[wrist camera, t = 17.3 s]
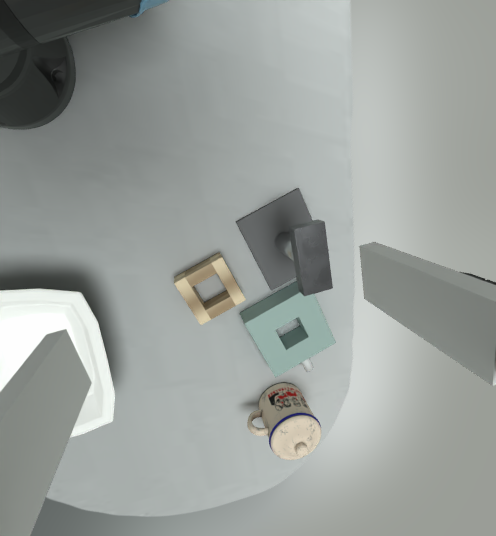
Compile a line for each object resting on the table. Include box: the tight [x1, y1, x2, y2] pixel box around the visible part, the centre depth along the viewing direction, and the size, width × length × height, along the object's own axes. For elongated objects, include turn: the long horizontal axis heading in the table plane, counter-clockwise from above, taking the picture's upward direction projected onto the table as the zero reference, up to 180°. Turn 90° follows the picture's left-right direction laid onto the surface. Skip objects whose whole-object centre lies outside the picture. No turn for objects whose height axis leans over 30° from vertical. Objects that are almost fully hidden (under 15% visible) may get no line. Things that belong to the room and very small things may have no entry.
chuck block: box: [240, 281, 336, 377], centre depth 53 cm, size 16×12×4 cm
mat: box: [236, 188, 312, 290], centre depth 50 cm, size 13×11×1 cm
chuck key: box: [275, 220, 333, 296], centre depth 44 cm, size 4×9×12 cm, turn 11°
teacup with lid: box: [248, 383, 321, 460], centre depth 54 cm, size 12×9×12 cm
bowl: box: [0, 288, 115, 437], centre depth 43 cm, size 22×23×8 cm
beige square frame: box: [174, 252, 246, 325], centre depth 48 cm, size 8×8×3 cm
